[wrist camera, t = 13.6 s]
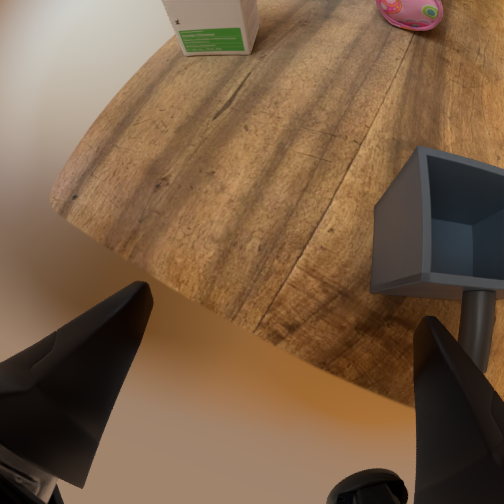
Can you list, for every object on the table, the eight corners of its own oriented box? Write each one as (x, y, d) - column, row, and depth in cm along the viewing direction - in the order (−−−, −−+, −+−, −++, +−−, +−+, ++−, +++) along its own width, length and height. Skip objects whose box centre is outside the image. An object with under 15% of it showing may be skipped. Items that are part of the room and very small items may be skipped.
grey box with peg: (465, 353, 19) (541, 369, 9) (361, 351, 21) (408, 380, 11) (472, 222, 21) (540, 182, 11) (374, 206, 23) (417, 144, 13)
